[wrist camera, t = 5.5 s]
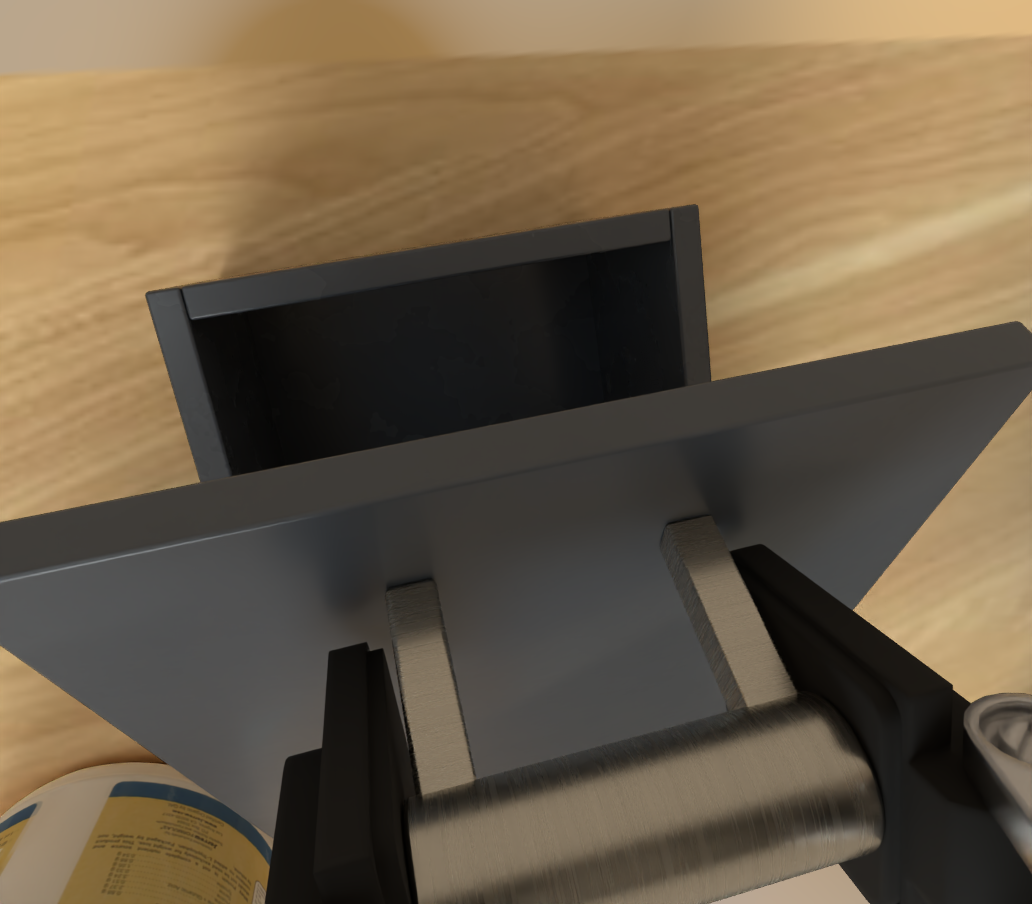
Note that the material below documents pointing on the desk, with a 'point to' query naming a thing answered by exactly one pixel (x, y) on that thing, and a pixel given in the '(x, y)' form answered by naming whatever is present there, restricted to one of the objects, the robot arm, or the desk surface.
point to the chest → (433, 339)
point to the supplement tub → (129, 842)
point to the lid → (534, 619)
